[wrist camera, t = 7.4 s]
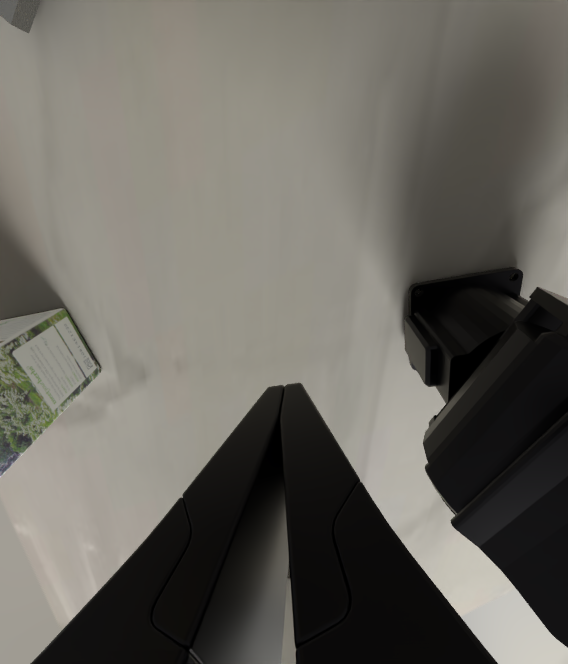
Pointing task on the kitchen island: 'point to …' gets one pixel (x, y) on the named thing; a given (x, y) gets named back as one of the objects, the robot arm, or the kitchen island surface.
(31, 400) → the syrup box
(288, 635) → the faceted bottle
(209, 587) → the robot arm
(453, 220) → the kitchen island surface
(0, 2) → the base
